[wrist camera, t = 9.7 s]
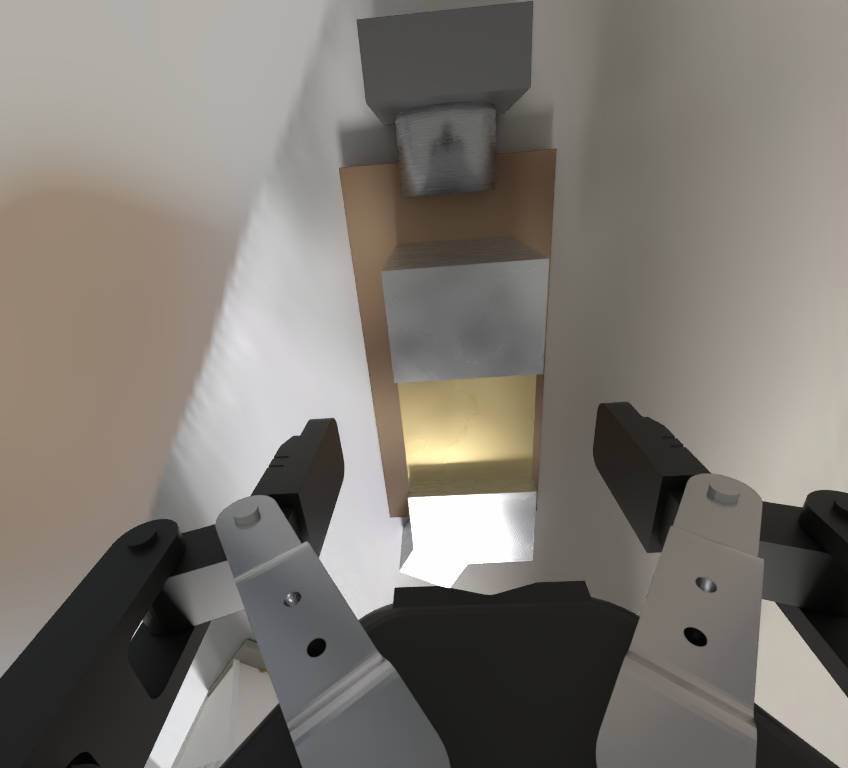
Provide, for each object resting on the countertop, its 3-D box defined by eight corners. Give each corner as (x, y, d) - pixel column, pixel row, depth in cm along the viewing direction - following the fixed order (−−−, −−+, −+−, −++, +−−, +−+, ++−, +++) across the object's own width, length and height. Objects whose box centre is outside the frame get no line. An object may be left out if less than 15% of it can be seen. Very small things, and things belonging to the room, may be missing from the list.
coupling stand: (529, 542, 22) (549, 612, 18) (398, 547, 22) (391, 618, 19) (553, 39, 13) (602, -19, 9) (329, 62, 13) (290, 14, 9)
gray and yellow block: (512, 235, 14) (549, 258, 10) (508, 469, 19) (532, 560, 14) (396, 244, 14) (380, 271, 10) (419, 474, 19) (415, 565, 14)
